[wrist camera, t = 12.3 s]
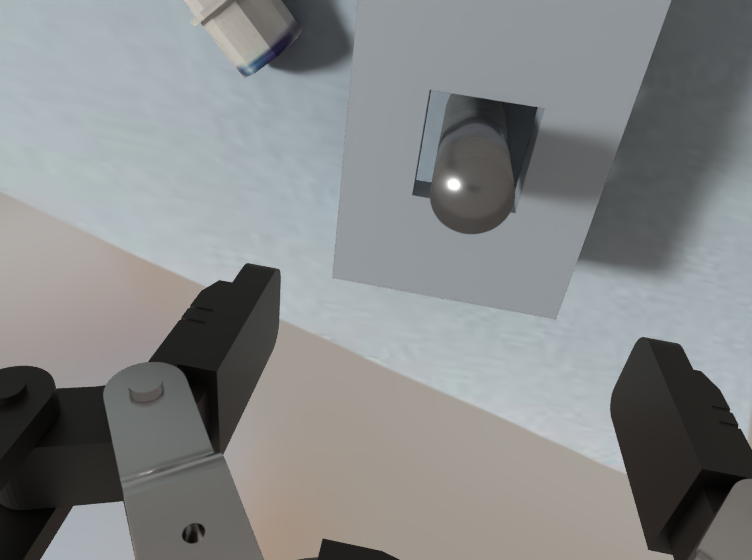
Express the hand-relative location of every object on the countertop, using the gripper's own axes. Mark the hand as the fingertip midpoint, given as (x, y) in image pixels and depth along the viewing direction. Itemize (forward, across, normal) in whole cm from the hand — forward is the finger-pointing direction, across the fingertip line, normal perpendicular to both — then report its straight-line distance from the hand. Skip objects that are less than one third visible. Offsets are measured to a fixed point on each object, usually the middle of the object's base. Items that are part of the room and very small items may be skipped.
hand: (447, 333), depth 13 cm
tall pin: (+22, -1, +1) cm, 22 cm away
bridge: (+22, -1, +1) cm, 22 cm away
